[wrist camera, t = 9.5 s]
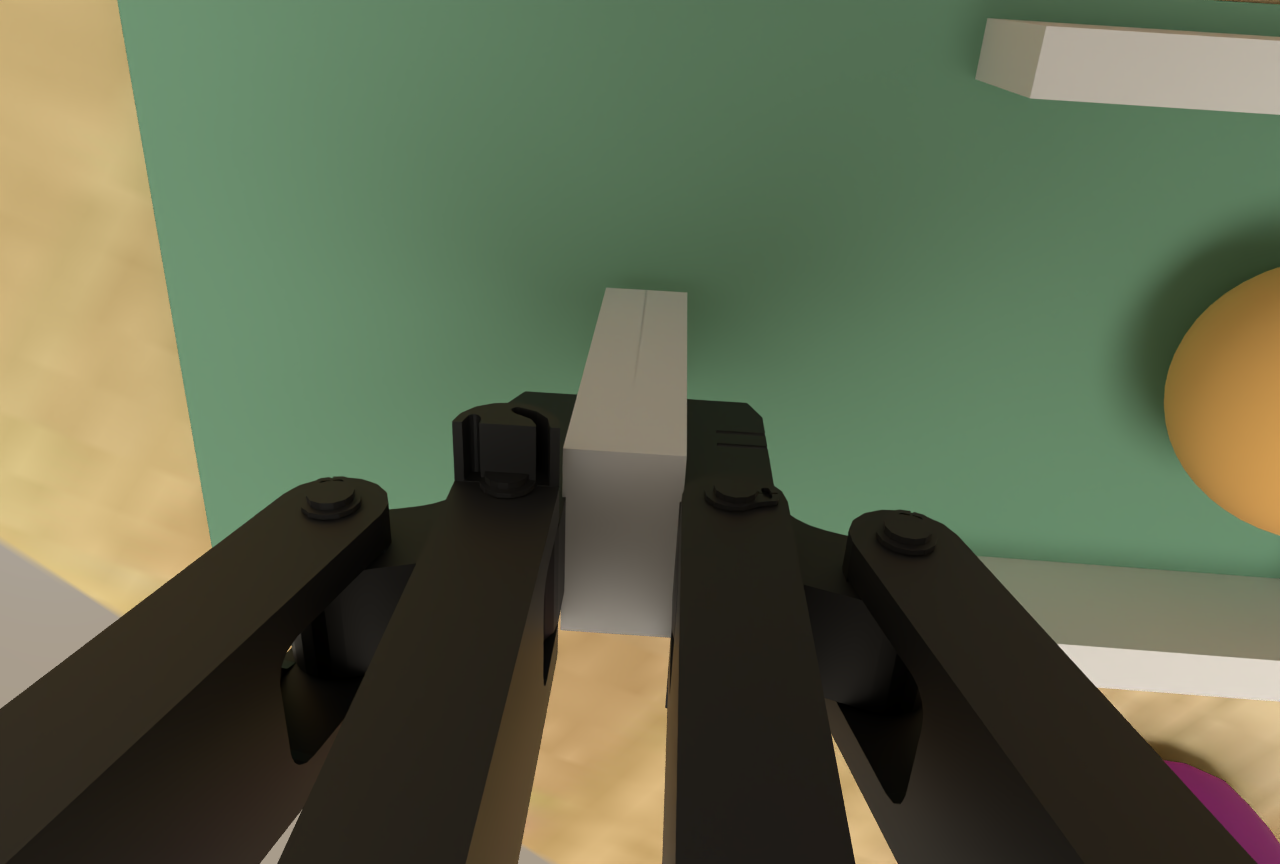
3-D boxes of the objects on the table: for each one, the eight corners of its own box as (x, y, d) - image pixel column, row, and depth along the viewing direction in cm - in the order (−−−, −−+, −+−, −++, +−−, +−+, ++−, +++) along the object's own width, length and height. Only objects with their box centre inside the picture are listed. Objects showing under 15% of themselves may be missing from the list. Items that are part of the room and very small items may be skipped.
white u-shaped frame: (1571, 55, 16) (1748, 70, 13) (1309, 618, 21) (1399, 710, 19) (987, 17, 16) (1045, 26, 14) (872, 585, 21) (898, 671, 19)
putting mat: (1594, 24, 16) (1615, 25, 16) (1313, 626, 22) (1323, 637, 21) (117, -69, 17) (105, -70, 16) (220, 543, 22) (212, 552, 22)
